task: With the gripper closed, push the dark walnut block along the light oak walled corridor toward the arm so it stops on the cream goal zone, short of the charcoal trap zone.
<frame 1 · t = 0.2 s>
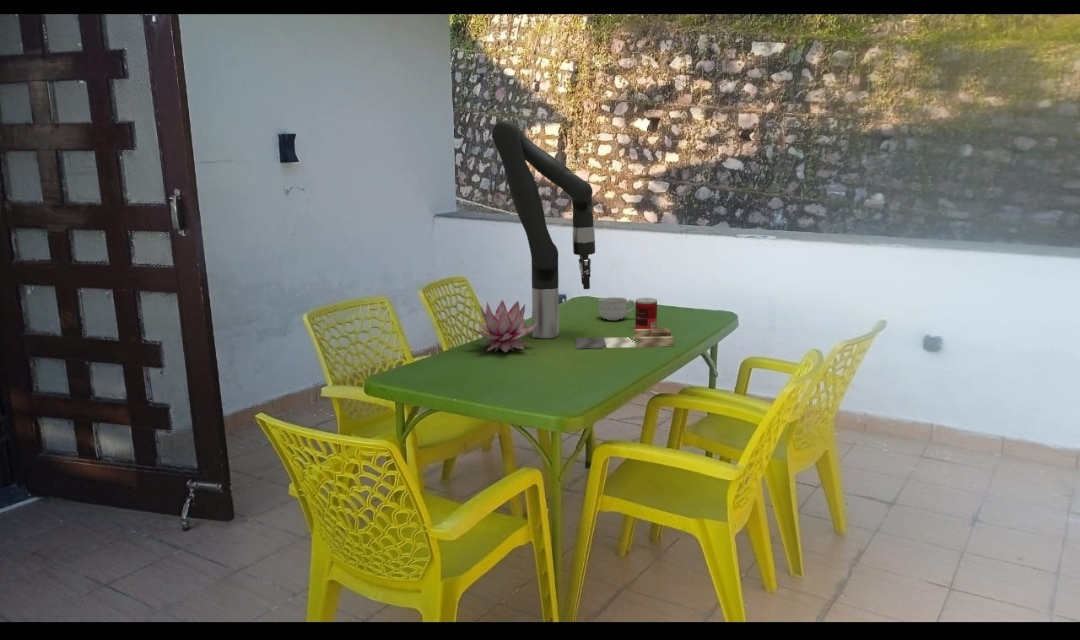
hand: (585, 286, 280), 17 cm above the table, tool pointing down, fingers open, 8 cm apart
canned food: (645, 330, 291), on the table
walnut block: (660, 341, 272), resting on corridor track
teacup: (616, 319, 307), on the table
corridor track: (623, 343, 272), on the table
decorative flower: (503, 349, 267), on the table
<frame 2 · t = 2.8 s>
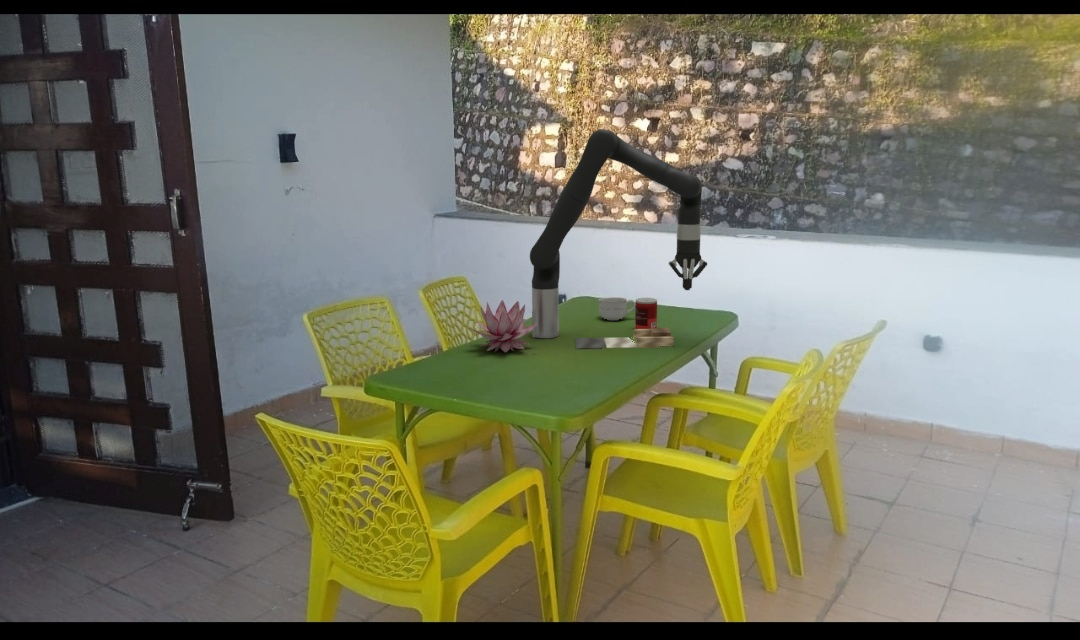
hand: (687, 289, 268), 18 cm above the table, tool pointing down, fingers closed
nothing on the table moved.
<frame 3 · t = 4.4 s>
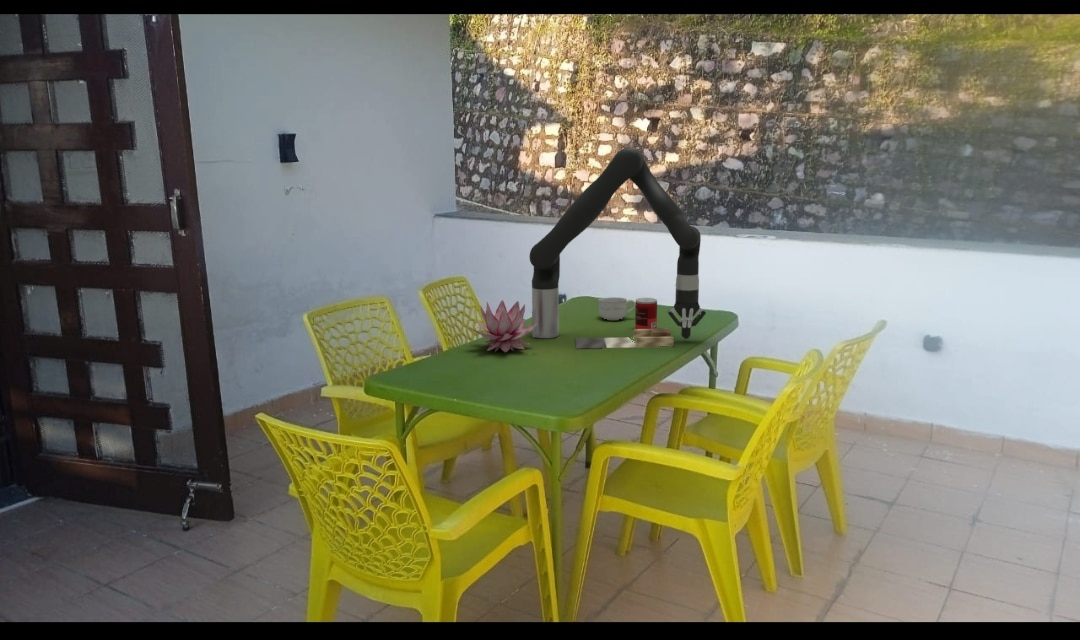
hand: (685, 338, 272), 2 cm above the table, tool pointing down, fingers closed
nothing on the table moved.
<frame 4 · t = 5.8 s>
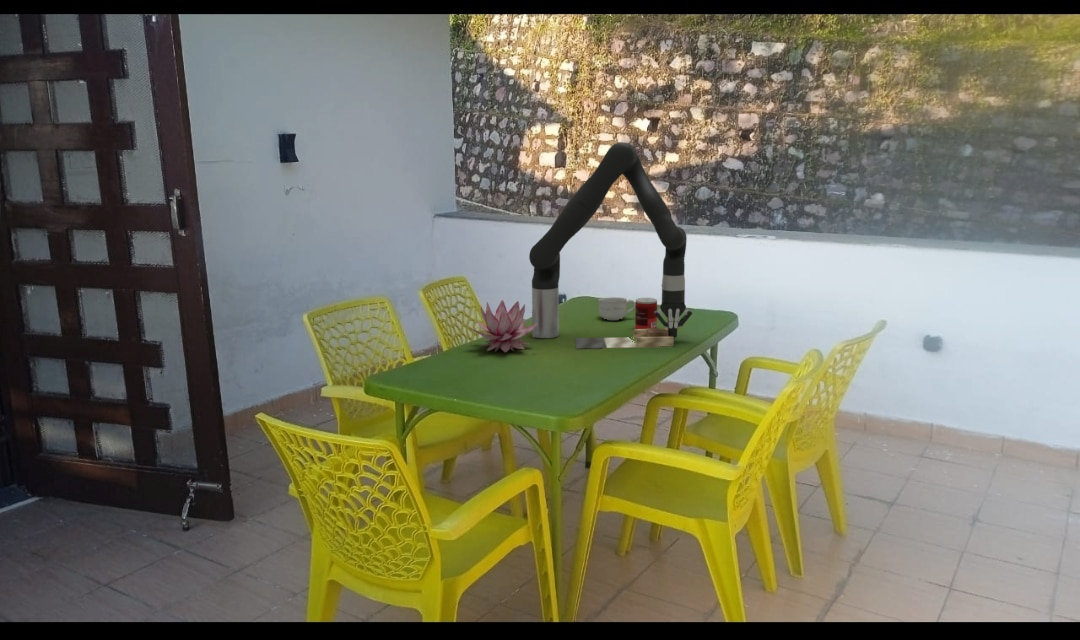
hand: (672, 338, 272), 2 cm above the table, tool pointing down, fingers closed
walnut block: (656, 341, 272), resting on corridor track, touching gripper
everything else where it was.
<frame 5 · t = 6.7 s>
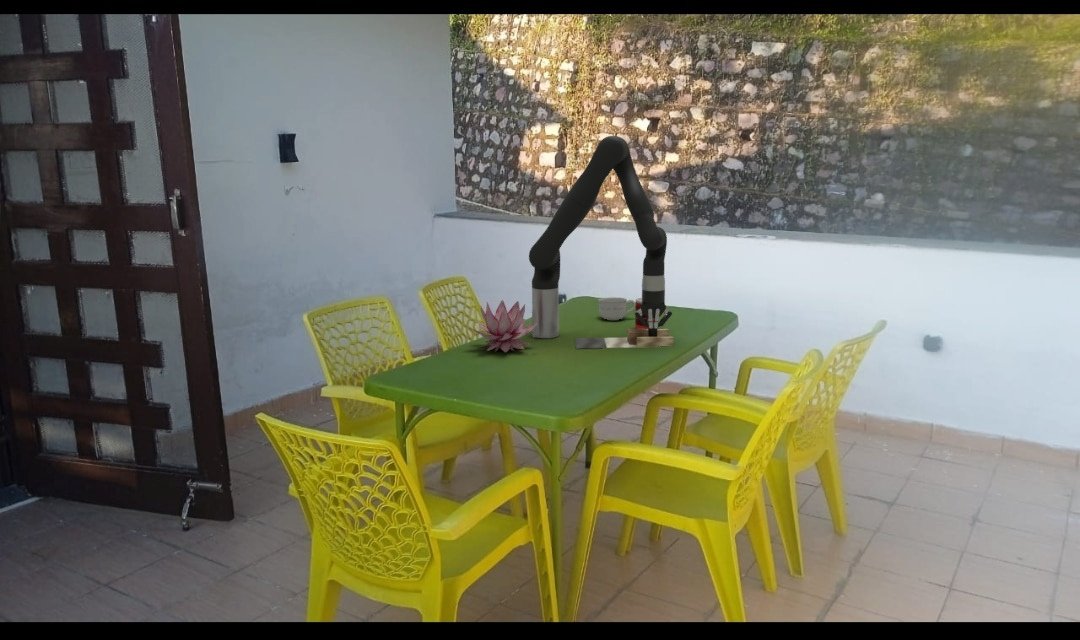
hand: (652, 338, 272), 2 cm above the table, tool pointing down, fingers closed
walnut block: (637, 342, 272), resting on corridor track, touching gripper
everything else where it was.
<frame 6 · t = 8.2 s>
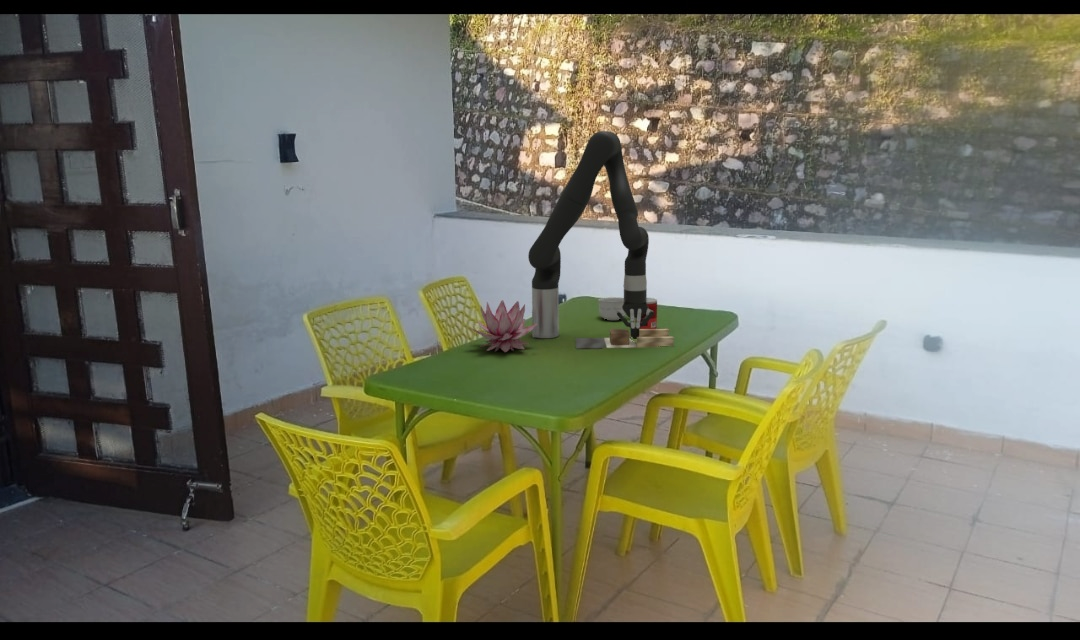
hand: (634, 338, 272), 2 cm above the table, tool pointing down, fingers closed
walnut block: (619, 342, 272), resting on corridor track, touching gripper
everything else where it was.
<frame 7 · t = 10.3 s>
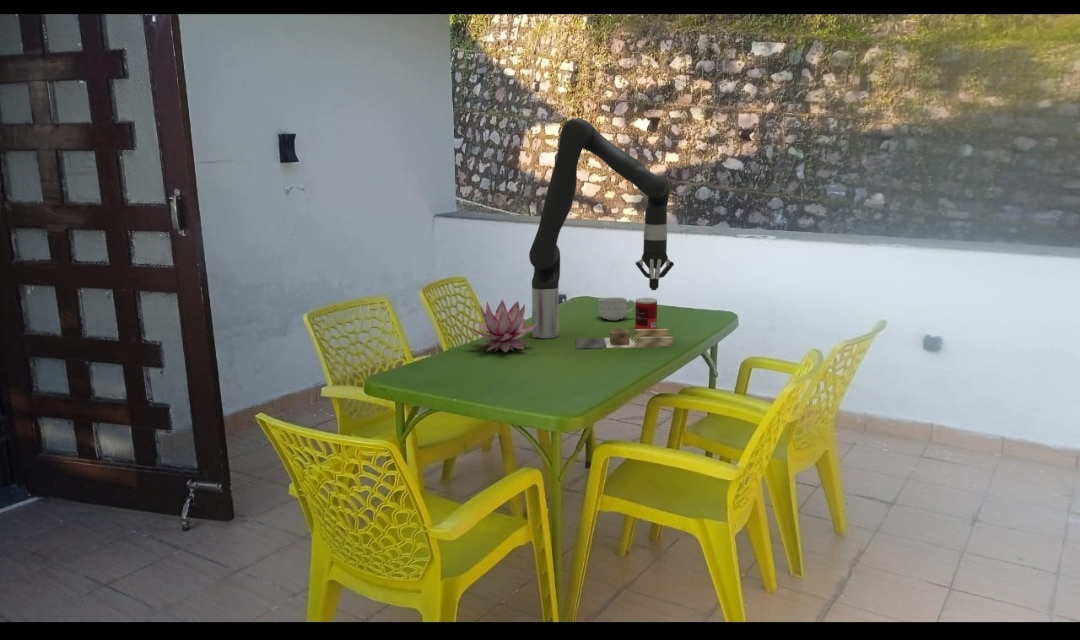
hand: (653, 289, 268), 18 cm above the table, tool pointing down, fingers closed
walnut block: (619, 342, 272), resting on corridor track
everything else where it was.
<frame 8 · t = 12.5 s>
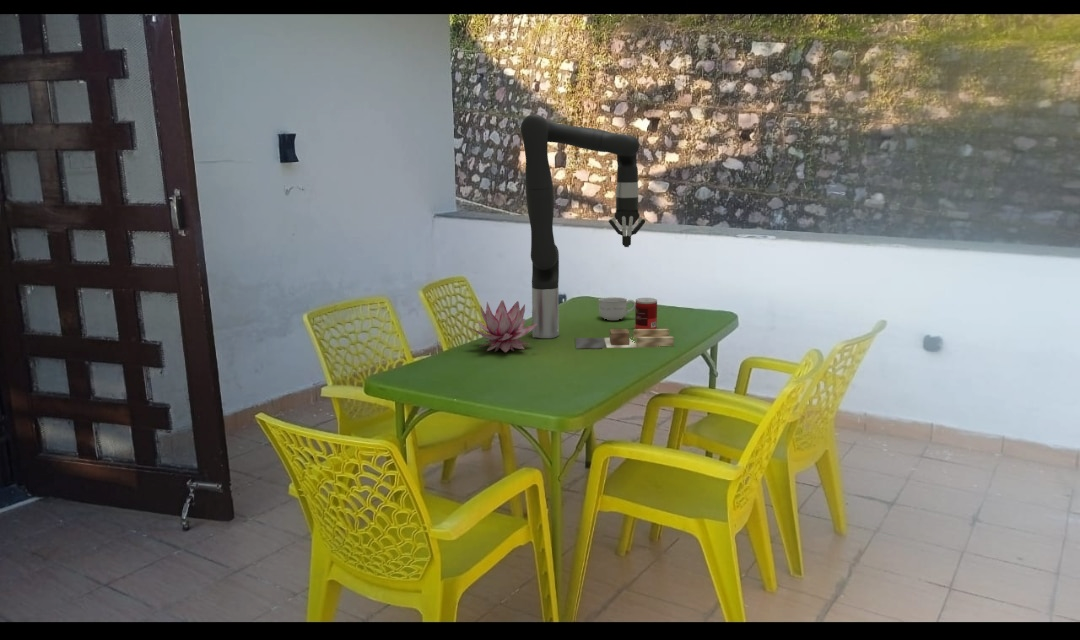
hand: (626, 246, 277), 31 cm above the table, tool pointing down, fingers closed
nothing on the table moved.
at the end: walnut block inside the target area (0.9 cm from its centre), resting on corridor track; walnut block tilted 0° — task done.
